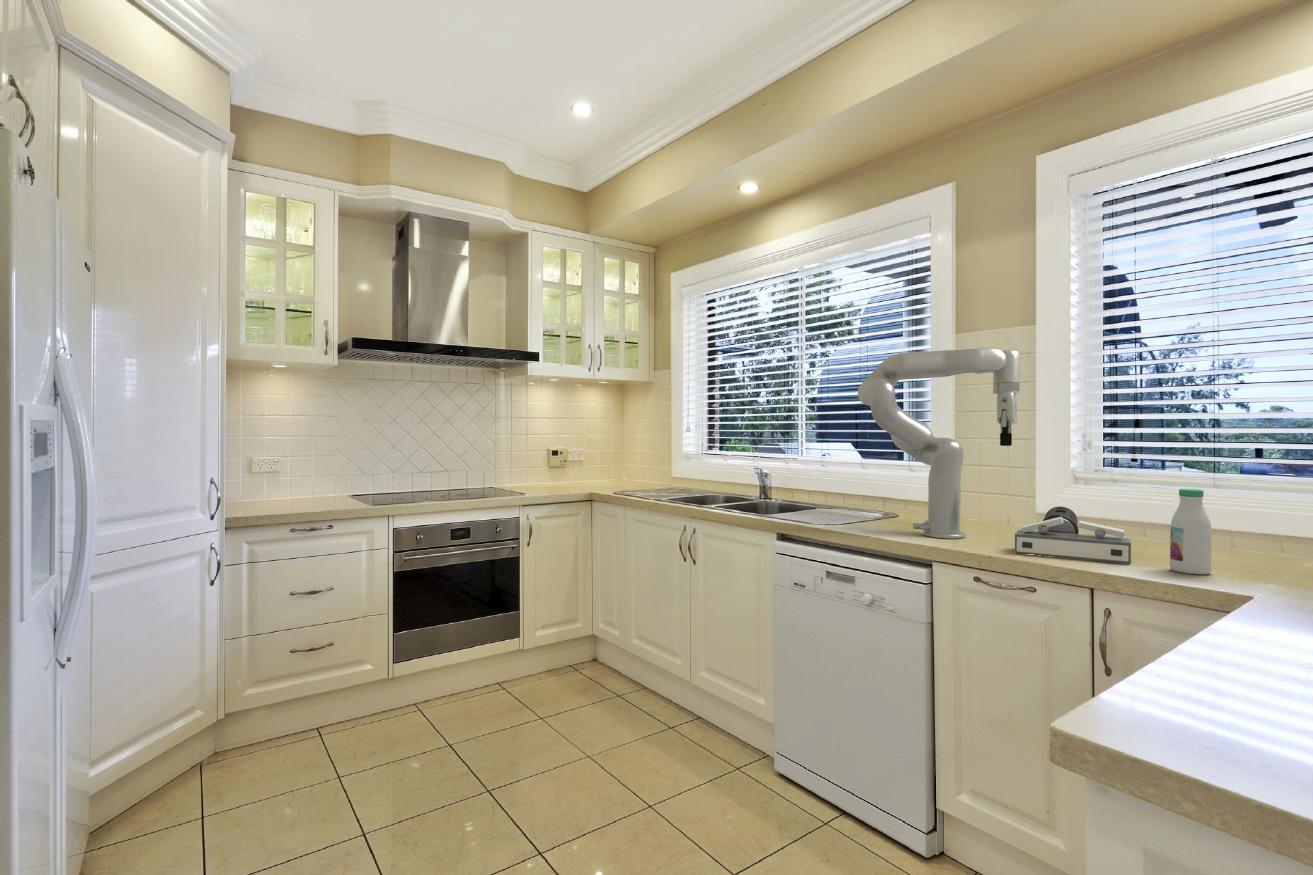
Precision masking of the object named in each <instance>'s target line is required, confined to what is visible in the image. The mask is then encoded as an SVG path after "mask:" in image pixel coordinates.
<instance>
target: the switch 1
mask: <svg viewBox="0 0 1313 875" xmlns="http://www.w3.org/2000/svg"><path fill="white" fill-rule="evenodd" d="M1063 522H1064V521H1063V519H1062V517H1058V518H1054V519H1050V520H1045V521H1038V522H1034V523H1030V524H1029V523H1028V524H1025V525H1022V527H1021V528H1020V530H1022V532H1023V533H1025V532H1029V531H1039V532H1040V533H1046V532H1047V531H1048V529H1049V527H1051V526H1055V525H1060V524H1063Z"/></svg>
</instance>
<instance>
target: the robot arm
mask: <svg viewBox="0 0 1313 875" xmlns="http://www.w3.org/2000/svg"><path fill="white" fill-rule="evenodd" d="M1020 356H1021V355H1020V353H1019V351H1017V350H1014V349H1003V350H1001V349H1000V348H998V347H979V348H965V349H946V350H945V349H944V350H931V351H928V350H927V351H912V352H909V351H908V352H901V353H896V354H892V355H890V356H888V357H886V358H885V359H884V360H883V361H882V362H881V363H880V364H879V365H878V366H877V367H876V368H875V369H874V370H873V371H872V372H871V373H870V374H869V375H868V376H867V377H866V378H865V379H864V380H863V381H862V382H861V384H860V385H859V387H858V390H857V396H858V399H859V401H860V402H861V403H862V404H864V405H865V406H870V412H871V415H872V419H873V420H874V422H875V423H876V424H877V425H878V426H879V428H880V429H882V430H884V431H885V432H886V433H888V434H889V435H890V437H891V438H890V439H891V441H892V442H893V444H894V445H895V446H896V447H897V448H898V449H900V450H902V452H905V453H906V454H908V455H909V456H910V457H913V458H914V459H915V460H917V461H918V462H920V463H922V464H924V465H927V466H929V467H930V469H929V472H928V482H927V484H928V485H927V487H928V488H927V489H928V490H927V491H928V496H927V498H928V499H927V500H928V501H927V502H928V507H927V509H928V511H927V513H928V514H927V515H928V518H927V519H928V520H927V519H926V520H925V521H923V522H922V523H919V522H913V523H912V529H913V530H922V534H923V535H924V536H926V537H931V538H937V539H949V540H950V539H952V540H954V539H964V538H965V537H967V536H966V535H967V534H966V532H964V531H961V481H962V480H961V477H962V467H963V464H964V449H963V447H962V445H961V444H960V443H959V442H958V441H957V440H955V439H953V438H949V437H935V436H934V435H933V431H932V429H931V428H930V427H929V426H928V425H927V424H926V423H925V422H923V421H921V420H919V419H917V418H916V417H914V416H913V415H911V414H909V413H908V412H906V411H905V410H903V409H902V408H901V407H900V406H899V405H898V402H897V401H896V390H895V385H896V384H897V383H898V382H899V381H900V380H912V379H913V380H914V379H915V380H916V379H929V378H930V379H931V378H945V377H952V376H956V375H962V374H971V373H973V374H977V375H978V374H979V375H983V374H989V373H992V378H993V379H992V380H993V381H992V394H994V395H996V417H997V418H996V419H997V421H996V422H997V423H998V424H999V425H1000V432H999V446H1000V447H1002V446H1003V447H1012V446H1013V445H1012V444H1013V439H1012V438H1013V433H1012V426H1013V425H1012V424H1015V425H1016V424H1017V422H1018V416H1017V415H1018V414H1017V412H1018V409H1017V408H1018V407H1017V406H1018V405H1017V394H1020V388H1021V386H1020V375H1021V372H1020V370H1021V368H1020V365H1021V364H1020V363H1021V362H1020V360H1021V359H1020V358H1021V357H1020Z"/></svg>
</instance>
